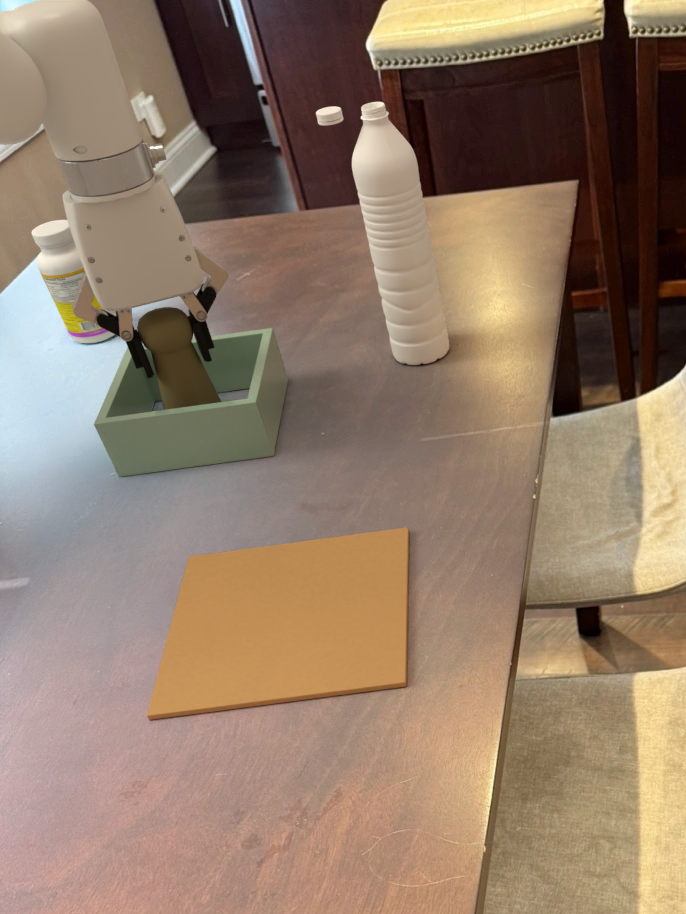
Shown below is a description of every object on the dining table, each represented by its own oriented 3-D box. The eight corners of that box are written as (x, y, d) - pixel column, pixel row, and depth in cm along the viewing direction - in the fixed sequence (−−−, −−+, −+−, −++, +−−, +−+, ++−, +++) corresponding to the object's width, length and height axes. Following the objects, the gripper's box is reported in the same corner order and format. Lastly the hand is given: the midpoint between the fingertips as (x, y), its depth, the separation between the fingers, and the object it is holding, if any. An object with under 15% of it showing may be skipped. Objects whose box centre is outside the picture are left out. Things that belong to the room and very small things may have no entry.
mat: (148, 720, 77) (146, 715, 77) (190, 560, 91) (188, 556, 90) (406, 686, 77) (405, 682, 76) (409, 531, 90) (408, 526, 90)
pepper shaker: (165, 408, 107) (127, 307, 100) (222, 395, 108) (188, 294, 101) (169, 435, 103) (128, 332, 95) (227, 421, 104) (192, 318, 96)
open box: (118, 477, 102) (93, 424, 98) (148, 398, 113) (126, 347, 109) (273, 456, 102) (255, 402, 97) (288, 378, 113) (272, 327, 108)
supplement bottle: (96, 318, 129) (51, 213, 120) (135, 323, 127) (92, 217, 118) (60, 342, 125) (10, 236, 116) (99, 348, 123) (52, 241, 114)
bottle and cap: (449, 335, 116) (406, 89, 98) (450, 361, 111) (405, 109, 93) (374, 345, 116) (317, 101, 98) (373, 372, 112) (313, 122, 93)
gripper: (194, 138, 93) (251, 328, 106) (5, 180, 89) (88, 372, 102) (211, 160, 88) (268, 356, 101) (11, 205, 84) (97, 403, 97)
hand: (177, 362), depth 102 cm, fingers closed on pepper shaker, 5 cm apart
